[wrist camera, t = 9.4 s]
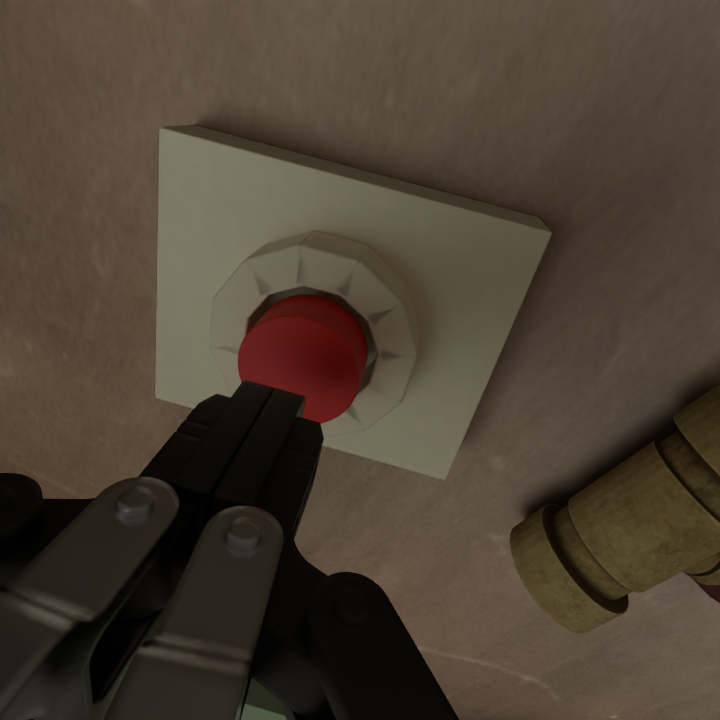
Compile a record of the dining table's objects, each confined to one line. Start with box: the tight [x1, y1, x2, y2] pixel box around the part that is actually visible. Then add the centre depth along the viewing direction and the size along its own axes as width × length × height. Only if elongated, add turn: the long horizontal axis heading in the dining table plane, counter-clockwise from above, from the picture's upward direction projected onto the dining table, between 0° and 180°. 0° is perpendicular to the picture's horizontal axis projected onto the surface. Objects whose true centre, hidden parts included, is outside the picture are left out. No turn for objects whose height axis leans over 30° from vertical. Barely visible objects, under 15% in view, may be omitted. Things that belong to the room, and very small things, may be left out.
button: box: [238, 294, 368, 424], centre depth 14 cm, size 4×4×2 cm
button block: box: [155, 125, 552, 480], centre depth 17 cm, size 12×10×4 cm
